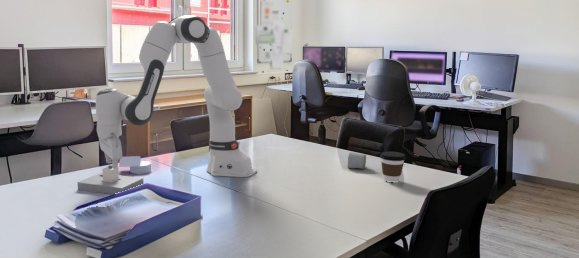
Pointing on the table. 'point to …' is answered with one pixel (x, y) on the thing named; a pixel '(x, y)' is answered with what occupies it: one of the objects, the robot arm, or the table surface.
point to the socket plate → (108, 184)
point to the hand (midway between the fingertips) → (112, 165)
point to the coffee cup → (392, 165)
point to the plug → (110, 174)
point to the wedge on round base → (135, 164)
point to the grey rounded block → (356, 160)
